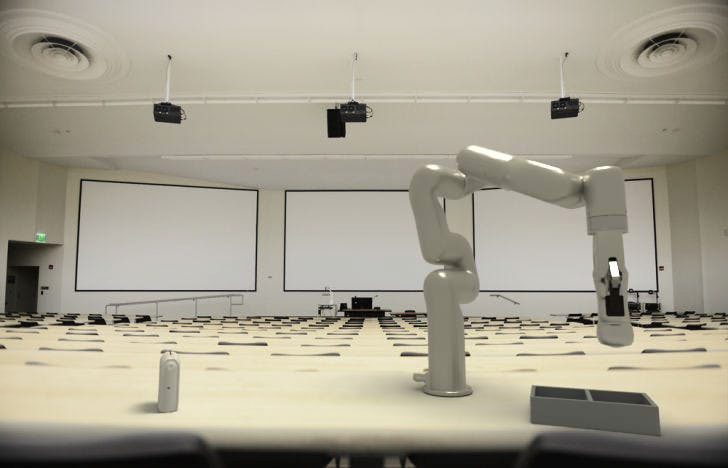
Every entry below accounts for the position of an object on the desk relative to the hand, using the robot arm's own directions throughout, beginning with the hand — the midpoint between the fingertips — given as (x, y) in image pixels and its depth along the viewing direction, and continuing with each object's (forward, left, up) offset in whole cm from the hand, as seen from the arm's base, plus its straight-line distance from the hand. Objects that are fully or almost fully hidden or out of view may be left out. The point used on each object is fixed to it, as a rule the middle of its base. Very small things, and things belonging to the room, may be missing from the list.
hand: (613, 314), depth 93 cm
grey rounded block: (-93, -22, -21) cm, 98 cm away
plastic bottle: (0, 0, -7) cm, 7 cm away
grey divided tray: (-5, 0, -21) cm, 22 cm away
